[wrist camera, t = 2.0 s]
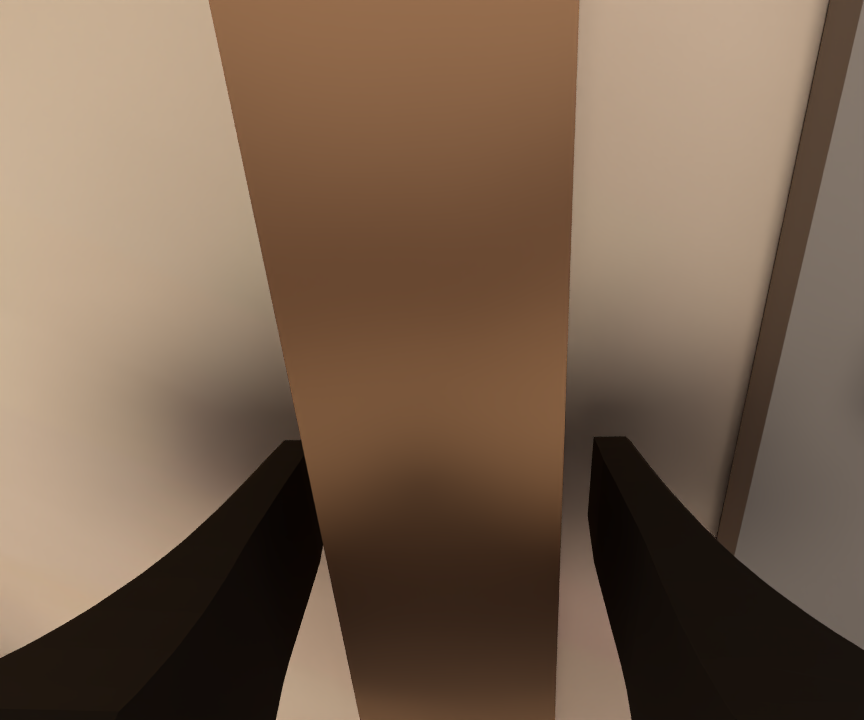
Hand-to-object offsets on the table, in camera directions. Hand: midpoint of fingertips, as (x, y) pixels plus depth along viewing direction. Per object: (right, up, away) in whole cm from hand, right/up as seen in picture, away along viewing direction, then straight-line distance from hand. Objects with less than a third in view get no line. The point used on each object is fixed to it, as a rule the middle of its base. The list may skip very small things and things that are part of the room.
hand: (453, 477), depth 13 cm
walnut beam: (0, +1, +2) cm, 2 cm away
